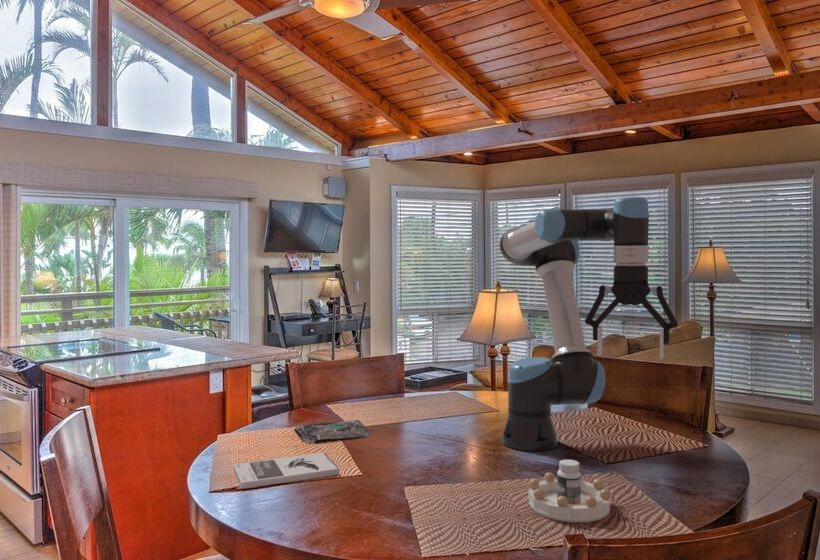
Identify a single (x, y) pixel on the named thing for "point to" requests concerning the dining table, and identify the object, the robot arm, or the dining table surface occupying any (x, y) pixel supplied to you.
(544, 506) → the tray
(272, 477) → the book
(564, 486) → the pill bottle
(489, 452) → the dining table surface
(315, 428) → the terrain model
